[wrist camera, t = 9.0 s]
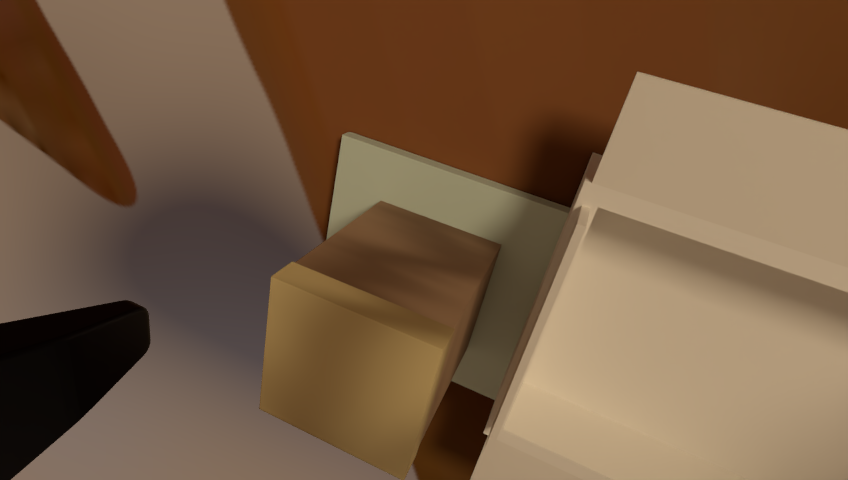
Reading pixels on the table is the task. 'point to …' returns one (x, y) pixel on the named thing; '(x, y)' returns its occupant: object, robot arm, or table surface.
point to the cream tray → (689, 305)
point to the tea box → (374, 332)
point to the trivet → (469, 211)
